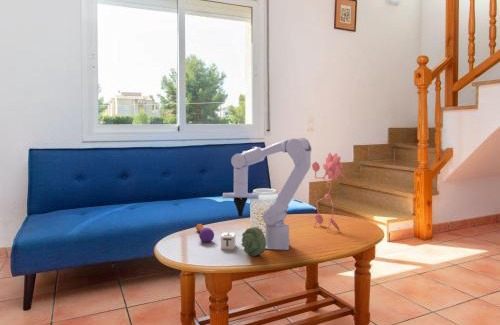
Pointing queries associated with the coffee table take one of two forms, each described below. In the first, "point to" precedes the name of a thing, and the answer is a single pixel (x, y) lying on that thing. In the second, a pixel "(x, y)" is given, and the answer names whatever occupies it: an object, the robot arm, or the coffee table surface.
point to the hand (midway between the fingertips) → (240, 215)
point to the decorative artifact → (253, 241)
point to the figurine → (333, 171)
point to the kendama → (205, 233)
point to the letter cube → (227, 240)
